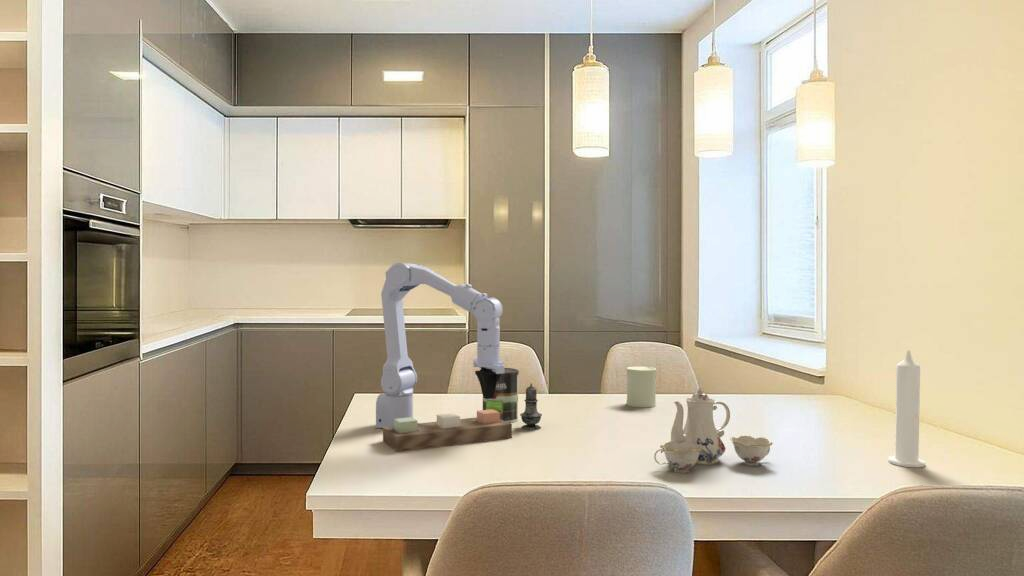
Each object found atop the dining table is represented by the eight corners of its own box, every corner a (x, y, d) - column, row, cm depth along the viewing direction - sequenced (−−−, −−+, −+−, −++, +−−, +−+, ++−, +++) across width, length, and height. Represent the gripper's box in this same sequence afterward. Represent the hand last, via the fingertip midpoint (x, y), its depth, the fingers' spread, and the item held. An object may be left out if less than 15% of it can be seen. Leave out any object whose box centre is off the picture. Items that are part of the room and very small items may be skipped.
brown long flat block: (396, 451, 161) (396, 436, 161) (383, 441, 171) (383, 427, 171) (511, 437, 175) (511, 423, 175) (492, 428, 184) (492, 415, 184)
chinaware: (676, 488, 140) (682, 408, 138) (631, 459, 155) (636, 386, 153) (782, 472, 151) (789, 398, 149) (730, 446, 166) (736, 379, 164)
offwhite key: (443, 431, 170) (443, 418, 170) (436, 427, 174) (436, 414, 173) (459, 429, 172) (459, 416, 172) (452, 425, 176) (452, 413, 175)
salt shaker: (540, 430, 182) (540, 385, 182) (518, 429, 184) (518, 384, 183) (543, 425, 188) (543, 381, 188) (522, 424, 189) (522, 381, 189)
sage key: (399, 435, 165) (399, 422, 164) (394, 432, 168) (394, 418, 168) (417, 433, 167) (417, 420, 166) (411, 430, 170) (411, 417, 170)
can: (658, 407, 214) (658, 368, 214) (628, 407, 214) (629, 368, 214) (652, 402, 223) (653, 364, 223) (624, 401, 223) (624, 364, 223)
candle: (881, 459, 156) (883, 348, 155) (911, 458, 156) (913, 348, 156) (901, 468, 149) (903, 351, 148) (932, 467, 149) (934, 351, 149)
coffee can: (510, 425, 189) (510, 373, 189) (476, 421, 193) (476, 371, 193) (524, 417, 199) (524, 368, 198) (491, 414, 203) (491, 366, 202)
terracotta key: (484, 426, 175) (484, 413, 175) (476, 423, 179) (476, 410, 179) (499, 424, 177) (499, 412, 177) (492, 421, 181) (492, 409, 181)
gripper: (515, 347, 173) (515, 401, 173) (490, 341, 185) (490, 392, 186) (489, 348, 169) (489, 404, 170) (466, 343, 182) (465, 394, 183)
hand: (488, 398), depth 177 cm, fingers closed
